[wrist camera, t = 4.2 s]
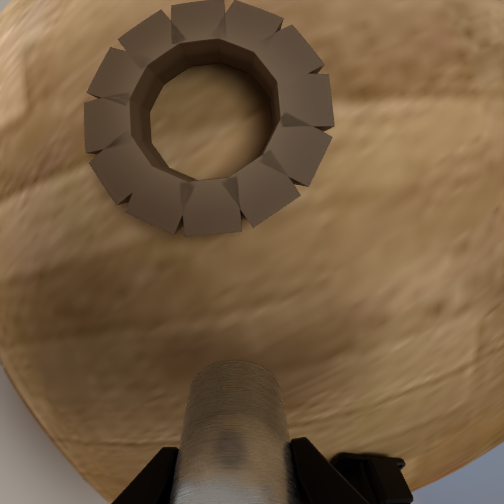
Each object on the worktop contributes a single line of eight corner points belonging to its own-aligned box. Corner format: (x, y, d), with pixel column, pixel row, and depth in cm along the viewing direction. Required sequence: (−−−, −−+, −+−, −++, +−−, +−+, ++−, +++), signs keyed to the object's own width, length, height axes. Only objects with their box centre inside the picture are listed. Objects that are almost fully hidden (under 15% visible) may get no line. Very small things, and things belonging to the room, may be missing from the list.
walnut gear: (259, 256, 13) (264, 275, 11) (83, 176, 12) (52, 178, 10) (345, 79, 12) (367, 61, 9) (168, 8, 10) (155, -21, 8)
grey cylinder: (256, 435, 10) (273, 637, 2) (178, 409, 10) (139, 626, 2) (297, 377, 9) (362, 620, 2) (210, 346, 9) (178, 631, 1)
